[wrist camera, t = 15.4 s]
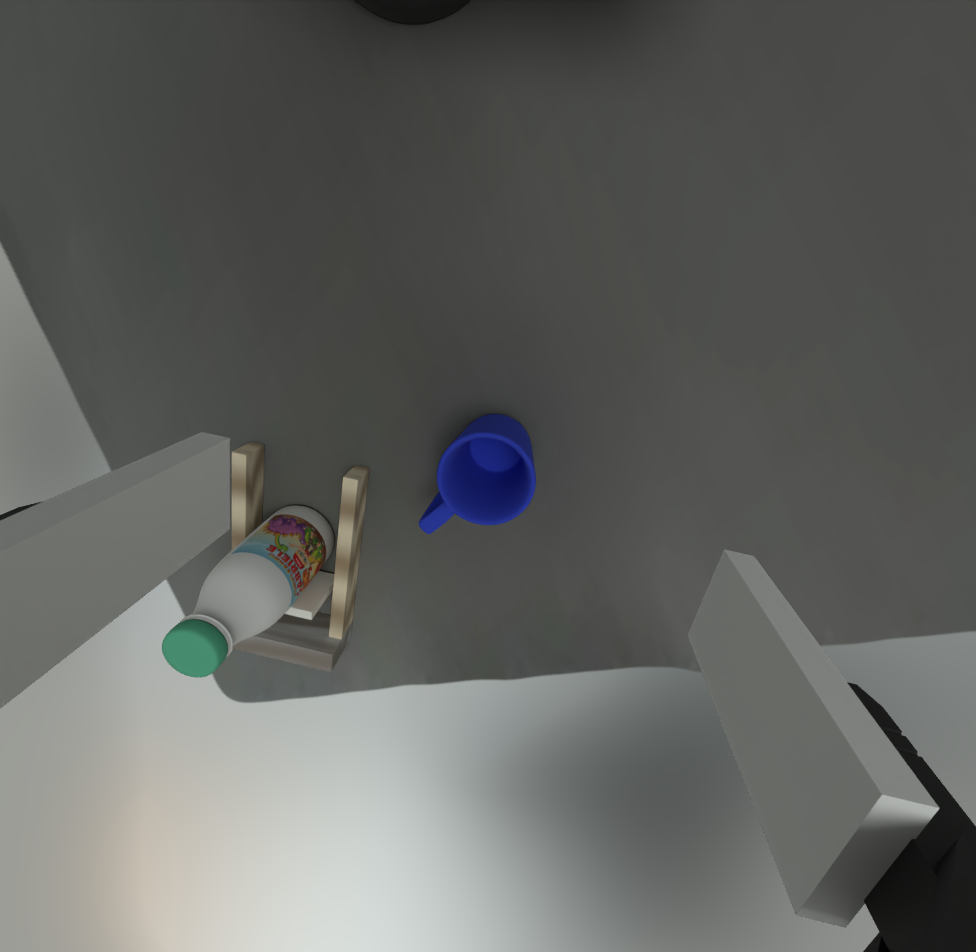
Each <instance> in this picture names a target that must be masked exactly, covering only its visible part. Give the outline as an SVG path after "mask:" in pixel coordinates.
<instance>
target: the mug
mask: <svg viewBox="0 0 976 952" xmlns="http://www.w3.org/2000/svg"><path fill="white" fill-rule="evenodd" d="M437 484H438V488H439V493H438V494H437V495H436V497H435V498H434V500H433V501H432V502H431V504H430V505H429V507H428V508H427V510H426V511H425V513H424V515H423V516H422V518H421V519H420V521H419V526H420V528H421V529H422V530H423V531H424V532H425V533H427V534H431V533H432V532H434V531H435V530H436V529H438V528H439V527H440V526H441V525H443V524H444V523H445V522H446V521H447V520H448V519H449V518H451V517H452V516H453V515H454V514H457V515H458V516H459V517H461V518H463V519H465V520H467V521H469V522H472V523H475V524H480V525H496V524H501V523H504V522H507V521H510V520H512V519H513V518H515V517H517V516H518V515H519V514H520V513H522V512H523V511H524V510H525V508H526V507H527V506H528V504H529V503H530V501H531V499H532V497H533V494H534V491H535V485H536V475H535V468H534V461H533V454H532V447H531V442H530V438H529V436H528V434H527V432H526V430H525V429H524V428H523V426H522V425H521V424H520V423H519V422H517V421H516V420H514V419H513V418H511V417H509V416H505V415H501V414H489V415H485V416H482V417H480V418H478V419H476V420H475V421H473V422H472V423H471V424H470V425H469V426H468V427H467V428H466V429H465V430H464V431H463V432H462V433H461V434H460V435H459V436H458V437H457V438H456V439H455V441H454V442H453V443H452V444H451V445H450V446H449V447H448V448H447V449H446V451H445V452H444V453H443V455H442V457H441V459H440V462H439V465H438V469H437Z"/></svg>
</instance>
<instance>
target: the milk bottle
mask: <svg viewBox="0 0 976 952" xmlns="http://www.w3.org/2000/svg"><path fill="white" fill-rule="evenodd" d="M333 548H334V534H333V531H332V528H331V526H330V524H329V523H328V521H327V520H326V519H325V518H324V517H323V516H322V515H321V514H320V513H318V512H317V511H315V510H313V509H311V508H309V507H304V506H296V505H295V506H287V507H284V508H282V509H280V510H278V511H277V512H275V513H274V514H273V515H272V516H270V517H269V518H268V519H267V520H266V521H265V522H263V523H262V524H261V525H260V526H259V527H258V528H257V529H255V530H254V531H253V532H252V533H251V534H250V535H249V536H247V537H246V538H245V539H244V540H243V541H242V542H241V543H239V544H238V545H237V546H236V547H235V548H234V549H233V550H232V551H230V552H229V553H228V554H227V555H226V556H225V557H224V558H223V559H222V560H221V561H220V562H219V563H218V564H217V565H216V566H215V567H214V568H213V570H212V571H211V572H210V574H209V575H208V577H207V578H206V580H205V582H204V584H203V586H202V589H201V592H200V595H199V599H198V602H197V605H196V607H195V609H194V611H193V613H192V615H189V616H187V617H185V618H183V619H182V621H180V623H179V624H177V625H176V626H175V627H174V628H173V629H172V630H171V631H170V632H169V633H168V634H167V635H166V637H165V638H164V640H163V643H162V651H163V655H164V657H165V659H166V660H167V662H168V663H169V664H170V665H171V666H172V667H173V668H174V669H175V670H177V671H179V672H180V673H182V674H184V675H187V676H191V677H205V676H208V675H210V674H212V673H213V672H214V671H216V670H217V668H218V667H219V666H220V665H221V664H222V663H223V661H224V660H225V658H226V657H228V656H229V654H230V653H231V651H232V647H233V646H234V645H235V644H237V643H238V642H240V641H242V640H244V639H246V638H249V637H251V636H254V635H256V634H259V633H261V632H262V631H264V630H266V629H268V628H269V627H270V626H272V625H273V624H274V623H276V622H277V621H278V620H279V619H280V618H281V617H282V616H283V615H284V614H285V612H286V611H287V610H288V609H289V608H290V607H291V605H292V604H293V603H294V602H295V600H296V599H297V598H298V597H299V595H300V594H301V593H302V592H303V590H304V589H305V588H306V587H307V585H308V584H309V583H310V581H311V580H312V579H313V578H314V576H315V575H316V574H317V572H318V571H319V570H320V569H321V567H322V566H323V565H324V563H325V562H326V561H327V559H328V558H329V556H330V555H331V553H332V551H333Z"/></svg>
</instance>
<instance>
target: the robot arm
mask: <svg viewBox="0 0 976 952" xmlns="http://www.w3.org/2000/svg"><path fill="white" fill-rule="evenodd" d="M357 1H358V2H359V3H360V4H362V5H363V6H364V7H365V8H367V9H368V10H370V11H371V12H373V13H375V14H377V15H379V16H381V17H383V18H386V19H388V20H391V21H395V22H400V23H408V24H418V23H427V22H431V21H435V20H438V19H441V18H443V17H446V16H448V15H450V14H452V13H453V12H455V11H457V10H458V9H460V8H461V7H462V6H464V5H465V4H466V3H467V2H469V1H470V0H357ZM229 529H230V438H227V437H222V436H218V435H213V434H209V433H204V432H201V433H198V434H196V435H194V436H192V437H189V438H187V439H185V440H182V441H180V442H178V443H176V444H173V445H171V446H169V447H167V448H164V449H162V450H160V451H157V452H155V453H153V454H151V455H148V456H146V457H144V458H141V459H139V460H137V461H135V462H132V463H130V464H128V465H126V466H123V467H121V468H119V469H116V470H114V471H112V472H110V473H107V474H105V475H103V476H101V477H98V478H96V479H94V480H91V481H89V482H87V483H85V484H83V485H81V486H78V487H76V488H73V489H71V490H69V491H66V492H64V493H62V494H60V495H57V496H55V497H53V498H51V499H48V500H46V501H43V502H39V503H35V504H31V505H26V506H23V507H18V508H16V509H14V510H11V511H9V512H7V513H4V514H2V515H0V708H2V707H3V706H4V705H5V704H7V703H8V702H9V701H11V700H12V699H13V698H14V697H16V696H17V695H18V694H20V693H21V692H22V691H23V690H25V689H26V688H27V687H28V686H30V685H31V684H32V683H33V682H35V681H36V680H37V679H39V678H40V677H41V676H43V675H44V674H45V673H46V672H48V671H49V670H50V669H51V668H53V667H54V666H55V665H57V664H58V663H59V662H61V661H62V660H63V659H64V658H66V657H67V656H68V655H69V654H71V653H72V652H73V651H74V650H76V649H77V648H78V647H80V646H81V645H82V644H83V643H84V642H86V641H87V640H89V639H90V638H91V637H92V636H94V635H95V634H96V633H98V632H99V631H100V630H101V629H102V628H104V627H105V626H106V625H108V624H109V623H110V622H112V621H113V620H114V619H115V618H117V617H118V616H119V615H121V614H122V613H123V612H124V611H126V610H127V609H128V608H130V607H131V606H132V605H133V604H135V603H136V602H137V601H139V600H140V599H141V598H142V597H143V596H145V595H146V594H147V593H149V592H150V591H151V590H153V589H154V588H155V587H156V586H158V585H159V584H160V583H161V582H162V581H164V580H165V579H167V578H168V577H169V576H171V575H172V574H173V573H174V572H176V571H177V570H178V569H179V568H181V567H182V566H183V565H185V564H186V563H187V562H188V561H190V560H191V559H192V558H194V557H195V556H196V555H197V554H199V553H200V552H201V551H202V550H204V549H205V548H206V547H208V546H209V545H210V544H211V543H213V542H214V541H215V540H217V539H218V538H219V537H220V536H222V535H223V534H224V533H226V532H227V531H228V530H229ZM688 638H689V640H690V643H691V645H692V648H693V651H694V653H695V656H696V658H697V661H698V663H699V666H700V669H701V671H702V674H703V676H704V679H705V681H706V684H707V687H708V689H709V692H710V694H711V697H712V699H713V702H714V705H715V707H716V710H717V713H718V715H719V718H720V720H721V723H722V725H723V728H724V731H725V733H726V736H727V738H728V741H729V744H730V746H731V749H732V751H733V754H734V757H735V759H736V762H737V764H738V767H739V769H740V772H741V775H742V777H743V780H744V782H745V785H746V787H747V790H748V793H749V795H750V798H751V800H752V803H753V805H754V808H755V811H756V813H757V816H758V819H759V821H760V823H761V826H762V829H763V831H764V834H765V837H766V839H767V842H768V844H769V847H770V849H771V852H772V854H773V857H774V860H775V862H776V865H777V868H778V870H779V873H780V875H781V878H782V881H783V883H784V885H785V888H786V891H787V893H788V896H789V899H790V901H791V904H792V906H793V909H794V911H795V914H796V915H797V916H801V917H805V918H809V919H813V920H817V921H821V922H826V923H829V924H833V925H837V926H841V927H846V926H847V925H848V924H849V923H850V922H851V920H852V919H853V918H854V916H855V915H856V914H857V913H858V911H859V910H860V909H861V908H862V906H863V905H864V904H866V906H867V908H868V910H869V912H870V914H871V916H872V918H873V920H874V922H875V924H876V926H877V928H878V930H879V933H878V935H877V936H876V937H875V938H874V939H873V941H872V942H871V943H870V944H869V945H868V947H867V948H866V949H865V950H864V951H863V952H976V826H975V825H974V824H973V823H972V821H971V820H970V819H969V817H968V816H967V815H966V813H965V812H964V811H963V810H962V808H961V807H960V806H959V804H958V803H957V802H956V801H955V799H954V798H953V797H952V795H951V794H950V793H949V792H948V791H947V789H946V788H945V786H944V785H943V784H942V783H941V781H940V780H939V779H938V777H937V776H936V775H935V774H934V773H933V771H932V770H931V768H930V767H929V766H928V765H927V763H926V762H925V761H924V760H923V758H922V757H919V756H918V755H917V750H916V749H915V748H914V747H913V745H912V744H911V743H910V742H909V740H908V739H907V738H906V736H902V735H901V732H902V731H901V730H900V729H899V727H898V726H897V725H896V724H895V722H894V721H893V720H892V719H891V717H890V716H889V715H888V713H887V712H886V711H885V709H884V708H883V707H882V706H881V705H880V704H878V703H877V702H876V701H875V700H874V699H873V698H872V697H870V696H869V695H868V694H867V693H866V692H865V691H863V690H862V689H861V688H860V687H859V686H858V685H856V684H852V683H848V682H846V681H845V680H844V678H843V677H842V675H841V674H840V672H839V671H838V670H837V668H836V667H835V666H834V664H833V663H832V662H831V660H830V659H829V657H828V656H827V655H826V653H825V652H824V651H823V649H822V648H821V647H820V645H819V644H818V642H817V641H816V640H815V638H814V637H813V636H812V634H811V633H810V632H809V630H808V629H807V628H806V626H805V625H804V623H803V622H802V621H801V619H800V618H799V617H798V615H797V614H796V613H795V611H794V610H793V609H792V607H791V606H790V604H789V603H788V602H787V600H786V599H785V598H784V596H783V595H782V594H781V592H780V591H779V590H778V588H777V587H776V585H775V584H774V583H773V581H772V580H771V579H770V577H769V576H768V575H767V573H766V572H765V571H764V569H763V568H762V566H761V565H760V564H759V562H758V561H757V560H756V558H755V557H754V556H751V555H746V554H742V553H737V552H733V551H728V550H724V551H723V553H722V556H721V558H720V560H719V563H718V565H717V567H716V570H715V572H714V574H713V577H712V579H711V581H710V584H709V586H708V588H707V591H706V593H705V595H704V598H703V600H702V602H701V605H700V607H699V610H698V612H697V614H696V617H695V619H694V621H693V624H692V626H691V628H690V631H689V633H688Z"/></svg>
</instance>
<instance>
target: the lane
mask: <svg viewBox="0 0 976 952" xmlns="http://www.w3.org/2000/svg"><path fill="white" fill-rule="evenodd" d="M264 446H265V445H264V444H260V443H255V442H249V443H247V444H245V445H244V446H242V447H240V448H238V449H236V450H234V451H233V452H232V550H233V549H234V548H235V547H236V546H237V545H238V544H239V543H241V542H242V541H243V540H244V539H245V538H246V537H247V536H249V535H250V534H251V533H252V532H253V531H254V530H255V529H257V528H258V527H259V526H260V525H261V524H262V523H263V485H264ZM368 477H369V468H367V467H363V466H358V465H355V466H354V467H353V468H352V469H351V470H350V471H349V472H348V473H347V474H346V475H345V476H344V477H343V485H342V496H341V507H340V518H339V530H338V541H337V552H336V563H335V574H334V585H333V596H332V607H331V615H327V614H323V613H319V612H317V613H316V614H315V616H314V617H313V619H312V620H309V619H305V618H300V617H296V616H292V615H288V614H284V615H283V616H282V617H281V618H280V619H279V620H278V621H277V622H276V623H274V624H273V625H272V626H270V627H269V628H268V629H266V630H264V631H262V632H261V633H259V634H256V635H254V636H251V637H249V638H246V639H244V640H242V641H240V642H238V643H237V644H235V645H234V646H233V647H232V649H236V650H240V651H244V652H249V653H253V654H257V655H261V656H265V657H270V658H274V659H278V660H282V661H286V662H291V663H295V664H299V665H303V666H307V667H312V668H316V669H320V670H324V671H328V672H332V670H333V668H334V666H335V664H336V663H337V661H338V659H339V657H340V655H341V654H342V652H343V650H344V648H345V646H346V645H347V643H348V641H349V639H350V637H351V631H352V622H353V613H354V604H355V595H356V586H357V577H358V568H359V559H360V550H361V541H362V532H363V523H364V513H365V504H366V495H367V486H368Z"/></svg>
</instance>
